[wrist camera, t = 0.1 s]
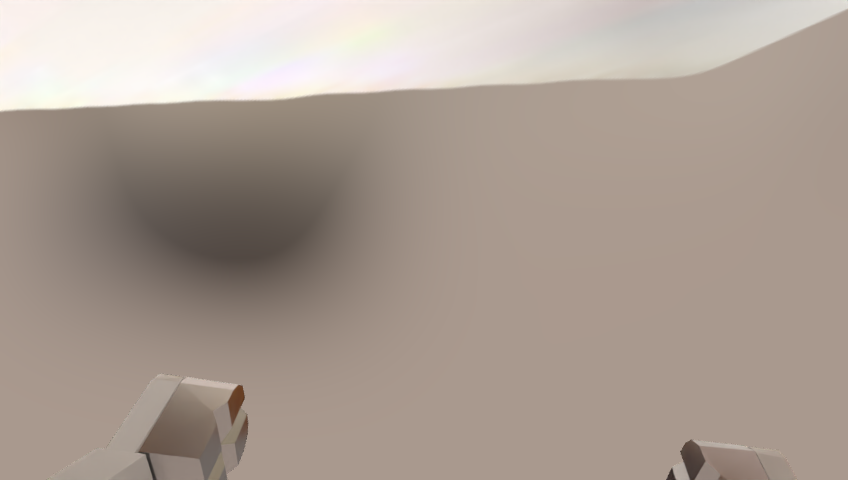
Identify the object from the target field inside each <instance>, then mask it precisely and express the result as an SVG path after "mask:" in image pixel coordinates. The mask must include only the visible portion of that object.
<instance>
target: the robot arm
mask: <svg viewBox="0 0 848 480" xmlns="http://www.w3.org/2000/svg"><path fill="white" fill-rule="evenodd" d="M244 399H245V395H244V390H243V386H242V385H237V384H230V383H224V382H217V381H210V380H204V379H197V378H190V377H182V376H174V375H168V374H161V373H160V374H158V375H157V376H156V377H155V378H153V379H152V380H151V381H150V383H149V384H148V386H147V387H146V389H145V390H144V392H143V393H142V395H141V396H140V398H139V399H138V401H137V402H136V404H135V405H134V407H133V408H132V410H131V411H130V413H129V414H128V416H127V417H126V419H125V420H124V422H123V423H122V425H121V426H120V428H119V429H118V431H117V432H116V434H115V435H114V437H113V438H112V440H111V441H110V443H109V444H108V446H107V447H106V449H103V448H96V449H94V450H93V451H91V452H90V453H88V454H86V455H85V456H84V457H82V458H80V459H79V460H77V461H75V462H74V463H72V464H70V465H69V466H67V467H66V468H64V469H62V470H61V471H59V472H58V473H56V474H55V475H53V476H51V477H50V478H48V479H46V480H227V475H226V474H228V473H229V472H230V471H232V470H233V469H234V468H235V467H237V466H238V464H239V461H240V459H241V456H242V454H243V452H244V448H245V444H246V440H247V435H248V417H247V414H246V413H245V412H244V411H243V410H242V409H241V406H242V404H243V401H244ZM680 452H681V455H682V459H683V462H681V463H679V464H677V465H675V466H673V467H672V468H671V470H670V472H669V475H668V477H667V479H666V480H797V478H796V476H795V474H794V472H793V470H792V469H791V467H790V465H789V463H788V461H787V459H786V458H785V456H784V455H783V454H782V453H780V452H779V451H778V450H773V449H764V448H757V447H746V446H744V445H736V444H727V443H718V442H709V441H700V440H690V441H688V442H686V443H685V445H684V446H683V448H682V450H681V451H680Z"/></svg>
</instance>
